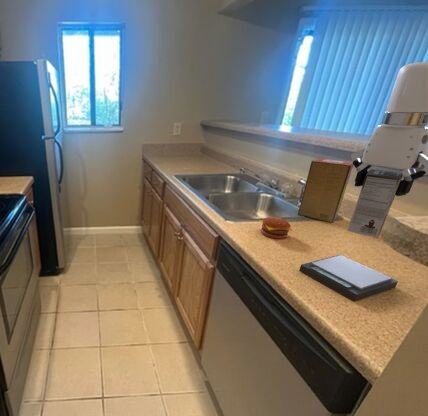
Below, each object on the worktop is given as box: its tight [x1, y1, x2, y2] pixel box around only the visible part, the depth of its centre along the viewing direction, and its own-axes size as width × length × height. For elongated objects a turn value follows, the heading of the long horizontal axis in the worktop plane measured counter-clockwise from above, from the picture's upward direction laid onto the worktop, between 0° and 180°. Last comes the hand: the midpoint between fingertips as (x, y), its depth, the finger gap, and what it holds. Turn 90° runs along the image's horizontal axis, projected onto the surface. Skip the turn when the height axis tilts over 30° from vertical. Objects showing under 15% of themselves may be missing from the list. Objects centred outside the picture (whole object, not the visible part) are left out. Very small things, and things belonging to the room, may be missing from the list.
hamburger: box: [259, 216, 294, 240], centre depth 107 cm, size 9×10×7 cm
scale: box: [299, 254, 399, 302], centre depth 80 cm, size 15×17×3 cm
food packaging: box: [297, 157, 354, 224], centre depth 120 cm, size 13×9×25 cm
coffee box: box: [347, 168, 403, 239], centre depth 73 cm, size 9×6×16 cm
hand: (378, 190), depth 71 cm, fingers closed on coffee box, 8 cm apart
